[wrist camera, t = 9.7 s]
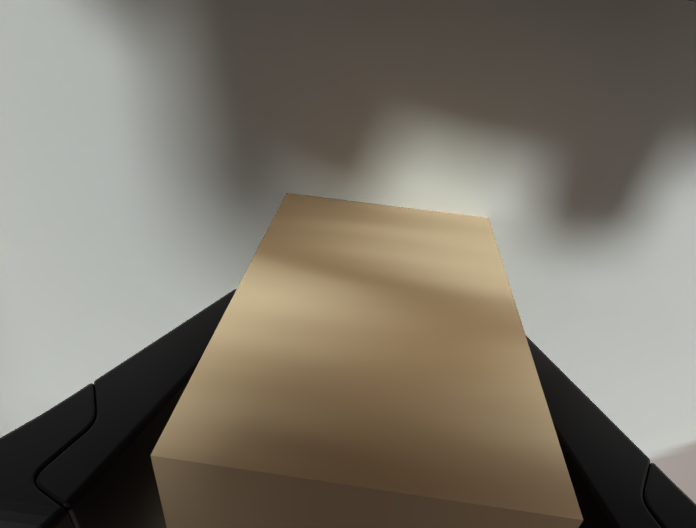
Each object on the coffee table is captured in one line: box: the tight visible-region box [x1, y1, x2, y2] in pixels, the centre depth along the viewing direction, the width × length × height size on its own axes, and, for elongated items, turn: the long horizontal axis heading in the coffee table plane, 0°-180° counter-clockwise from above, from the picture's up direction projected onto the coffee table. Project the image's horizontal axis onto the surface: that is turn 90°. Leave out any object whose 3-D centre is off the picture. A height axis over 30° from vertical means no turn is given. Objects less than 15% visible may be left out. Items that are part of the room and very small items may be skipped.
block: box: [150, 193, 583, 528], centre depth 8 cm, size 4×4×6 cm
